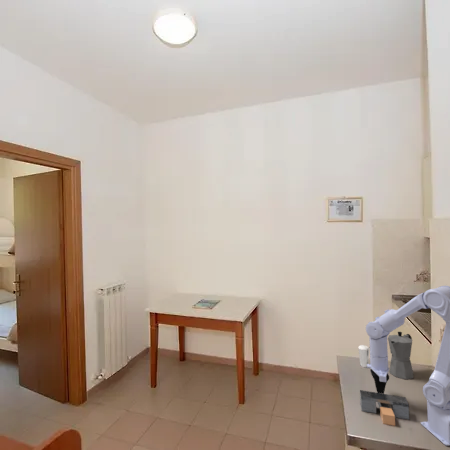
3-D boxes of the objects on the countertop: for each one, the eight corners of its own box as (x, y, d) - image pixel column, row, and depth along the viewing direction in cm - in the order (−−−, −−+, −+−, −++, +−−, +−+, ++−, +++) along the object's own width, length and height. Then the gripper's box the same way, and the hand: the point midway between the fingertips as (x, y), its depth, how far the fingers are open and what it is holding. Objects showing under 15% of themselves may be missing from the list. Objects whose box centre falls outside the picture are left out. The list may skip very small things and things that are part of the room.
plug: (375, 401, 100) (375, 393, 101) (386, 403, 99) (385, 395, 99) (383, 423, 89) (382, 414, 89) (395, 425, 88) (394, 416, 88)
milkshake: (373, 368, 124) (372, 346, 124) (360, 367, 125) (359, 345, 125) (370, 364, 129) (369, 342, 129) (357, 363, 130) (356, 341, 130)
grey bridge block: (360, 404, 99) (359, 389, 99) (405, 412, 94) (405, 397, 94) (361, 411, 95) (361, 396, 96) (409, 419, 91) (408, 404, 91)
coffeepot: (405, 383, 112) (403, 338, 112) (381, 373, 120) (380, 331, 120) (423, 372, 120) (421, 330, 120) (400, 364, 128) (399, 324, 128)
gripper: (364, 345, 110) (365, 380, 109) (369, 361, 96) (370, 401, 96) (384, 347, 107) (385, 383, 107) (392, 364, 94) (394, 405, 93)
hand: (380, 392), depth 101 cm, fingers closed
